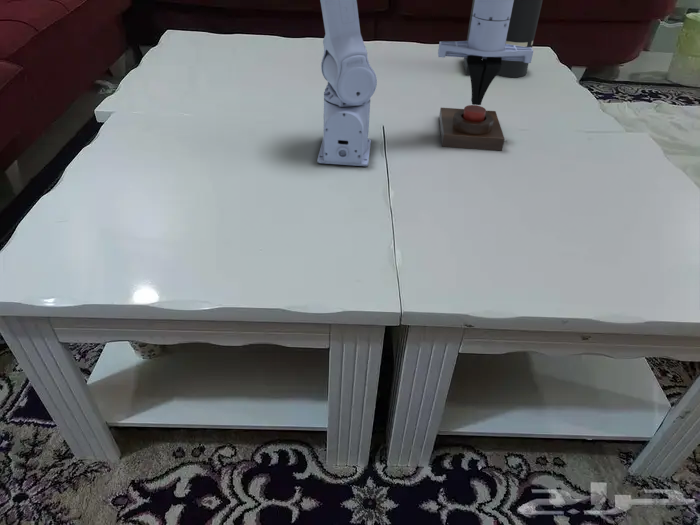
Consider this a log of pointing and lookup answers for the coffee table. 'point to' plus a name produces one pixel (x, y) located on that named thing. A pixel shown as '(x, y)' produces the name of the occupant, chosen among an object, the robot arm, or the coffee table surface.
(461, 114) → the switch block
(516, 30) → the light fixture
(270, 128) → the coffee table surface
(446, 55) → the robot arm
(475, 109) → the button
